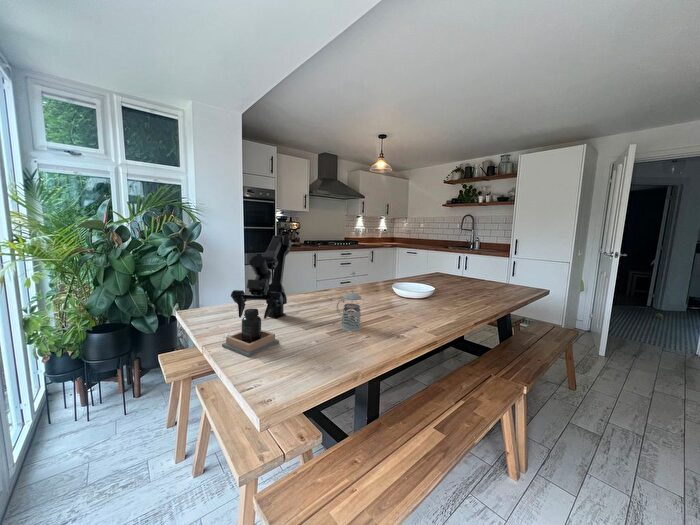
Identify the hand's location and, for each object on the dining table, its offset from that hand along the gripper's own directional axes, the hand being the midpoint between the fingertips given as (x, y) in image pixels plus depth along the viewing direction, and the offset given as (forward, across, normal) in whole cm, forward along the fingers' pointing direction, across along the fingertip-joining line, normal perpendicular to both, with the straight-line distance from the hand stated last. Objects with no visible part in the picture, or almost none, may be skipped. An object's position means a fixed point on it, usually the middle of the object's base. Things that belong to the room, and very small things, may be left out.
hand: (252, 317), depth 104 cm
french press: (-8, +35, +22) cm, 43 cm away
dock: (+8, 0, +6) cm, 10 cm away
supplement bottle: (+7, 0, +6) cm, 9 cm away
